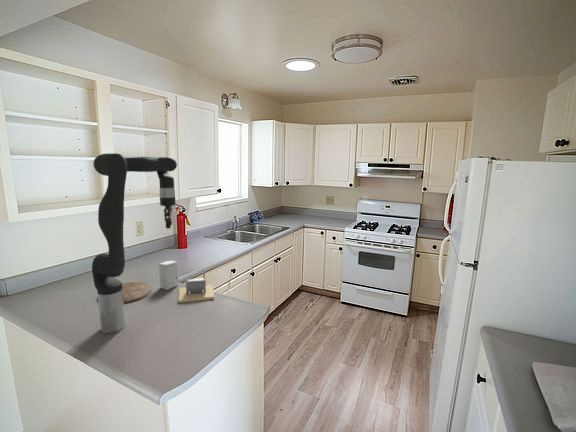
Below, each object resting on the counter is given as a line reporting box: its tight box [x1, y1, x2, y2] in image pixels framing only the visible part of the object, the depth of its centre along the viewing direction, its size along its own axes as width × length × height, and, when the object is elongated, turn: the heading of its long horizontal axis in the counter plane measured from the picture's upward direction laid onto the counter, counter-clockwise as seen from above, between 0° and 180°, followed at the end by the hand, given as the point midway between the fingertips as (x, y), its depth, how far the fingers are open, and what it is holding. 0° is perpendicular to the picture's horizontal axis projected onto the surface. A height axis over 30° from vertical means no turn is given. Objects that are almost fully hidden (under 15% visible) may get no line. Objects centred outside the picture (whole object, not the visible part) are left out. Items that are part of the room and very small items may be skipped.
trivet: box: [122, 281, 152, 305], centre depth 165 cm, size 25×25×2 cm
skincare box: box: [158, 260, 179, 291], centre depth 174 cm, size 8×6×15 cm
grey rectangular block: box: [185, 277, 207, 295], centre depth 164 cm, size 4×10×7 cm, turn 108°
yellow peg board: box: [177, 284, 215, 304], centre depth 165 cm, size 16×18×4 cm
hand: (169, 226), depth 159 cm, fingers open, 8 cm apart
